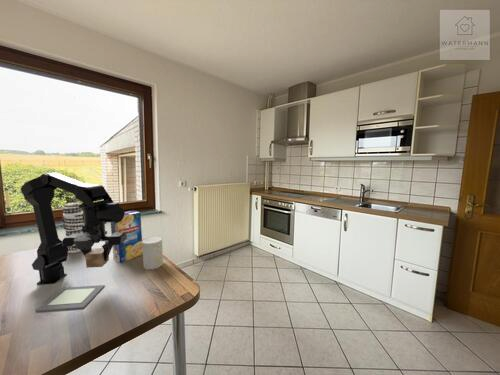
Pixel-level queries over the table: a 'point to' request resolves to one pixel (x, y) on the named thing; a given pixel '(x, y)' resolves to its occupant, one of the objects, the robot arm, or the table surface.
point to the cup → (152, 252)
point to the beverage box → (128, 237)
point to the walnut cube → (95, 258)
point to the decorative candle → (72, 221)
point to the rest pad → (71, 298)
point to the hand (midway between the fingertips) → (97, 261)
